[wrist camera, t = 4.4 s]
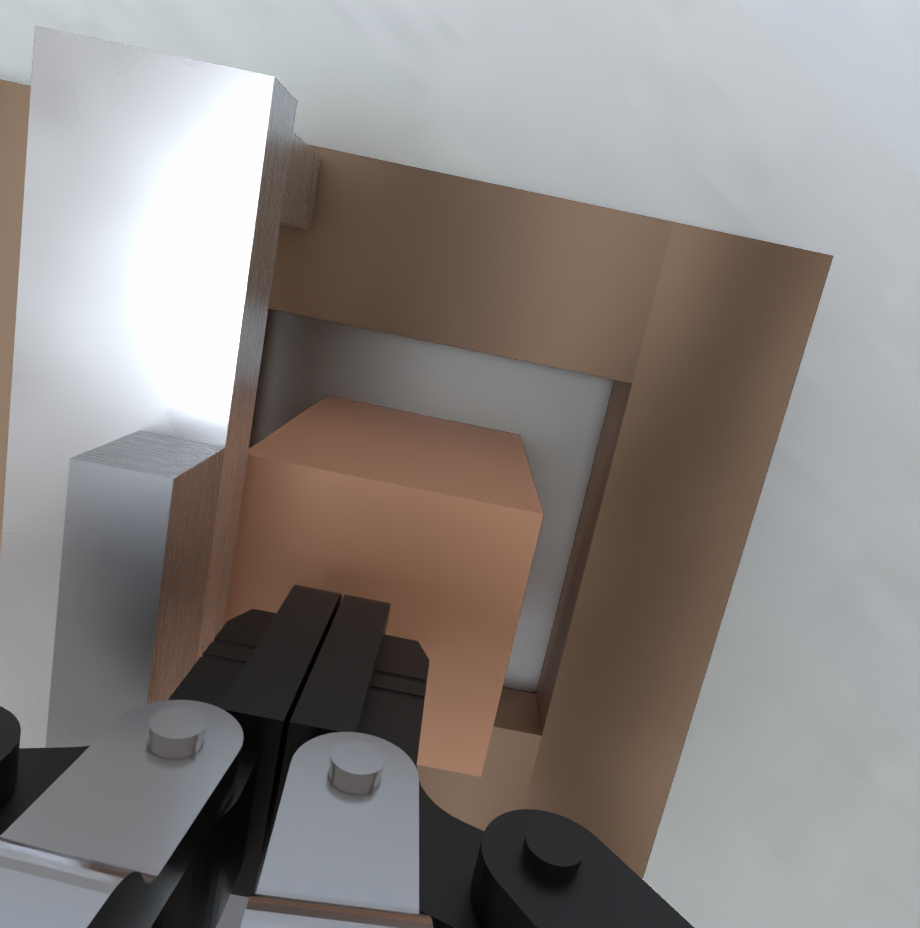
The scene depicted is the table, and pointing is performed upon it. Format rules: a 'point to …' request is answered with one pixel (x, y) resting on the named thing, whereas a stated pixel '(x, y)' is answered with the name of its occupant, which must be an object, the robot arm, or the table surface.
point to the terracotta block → (400, 546)
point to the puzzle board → (619, 450)
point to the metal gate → (134, 369)
